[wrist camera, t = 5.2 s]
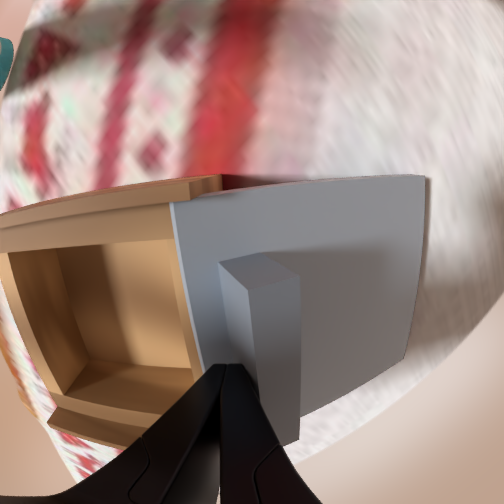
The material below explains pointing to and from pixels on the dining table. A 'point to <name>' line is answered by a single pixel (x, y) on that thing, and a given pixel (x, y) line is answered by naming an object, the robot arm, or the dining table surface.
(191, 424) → the robot arm
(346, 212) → the cover plate
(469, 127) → the dining table surface
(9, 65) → the tube
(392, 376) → the dining table surface
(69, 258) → the pine box
